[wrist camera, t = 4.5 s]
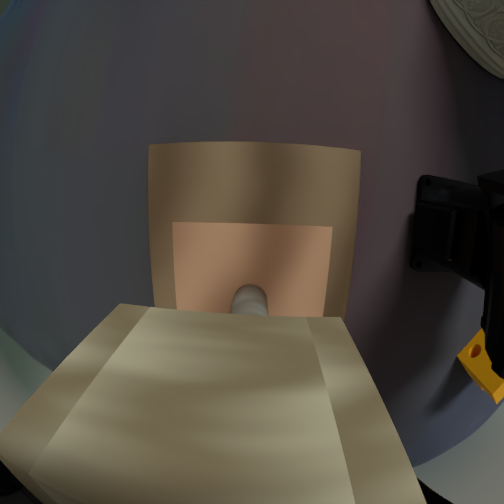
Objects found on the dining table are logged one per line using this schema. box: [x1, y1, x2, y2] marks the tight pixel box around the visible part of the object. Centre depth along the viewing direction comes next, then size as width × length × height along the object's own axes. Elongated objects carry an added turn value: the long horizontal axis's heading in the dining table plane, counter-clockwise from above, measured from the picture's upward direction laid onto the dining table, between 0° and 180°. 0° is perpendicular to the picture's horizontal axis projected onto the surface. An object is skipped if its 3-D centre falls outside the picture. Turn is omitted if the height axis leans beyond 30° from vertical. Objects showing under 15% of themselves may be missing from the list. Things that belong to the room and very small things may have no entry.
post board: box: [148, 142, 361, 322], centre depth 15 cm, size 12×18×6 cm, turn 178°
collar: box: [0, 303, 427, 504], centre depth 6 cm, size 6×6×6 cm
